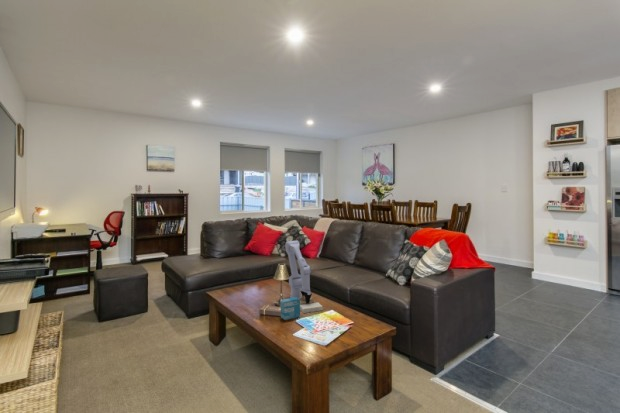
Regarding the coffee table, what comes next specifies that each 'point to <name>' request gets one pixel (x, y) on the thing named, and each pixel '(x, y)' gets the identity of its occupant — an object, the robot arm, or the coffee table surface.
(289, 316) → the data package
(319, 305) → the dock
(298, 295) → the robot arm
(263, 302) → the coffee table surface
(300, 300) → the wooden box
